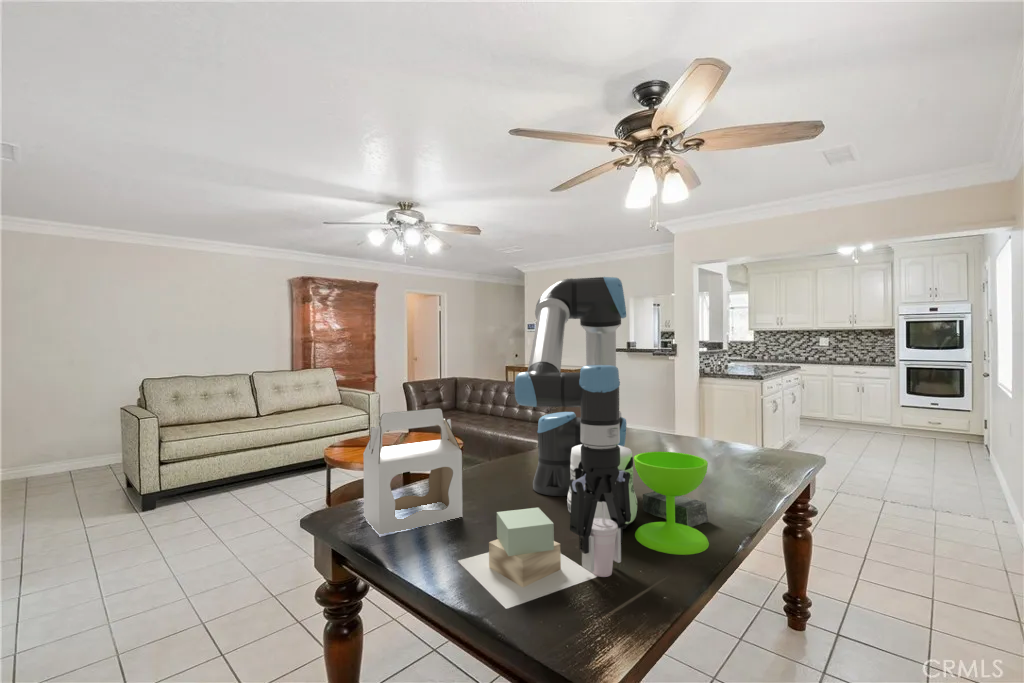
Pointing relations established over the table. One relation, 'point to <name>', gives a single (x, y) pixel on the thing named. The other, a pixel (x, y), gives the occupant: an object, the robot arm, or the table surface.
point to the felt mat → (515, 594)
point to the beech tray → (524, 563)
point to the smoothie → (603, 544)
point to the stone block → (677, 508)
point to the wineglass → (671, 500)
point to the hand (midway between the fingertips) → (601, 563)
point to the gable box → (412, 457)
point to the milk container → (625, 465)
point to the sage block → (525, 531)
